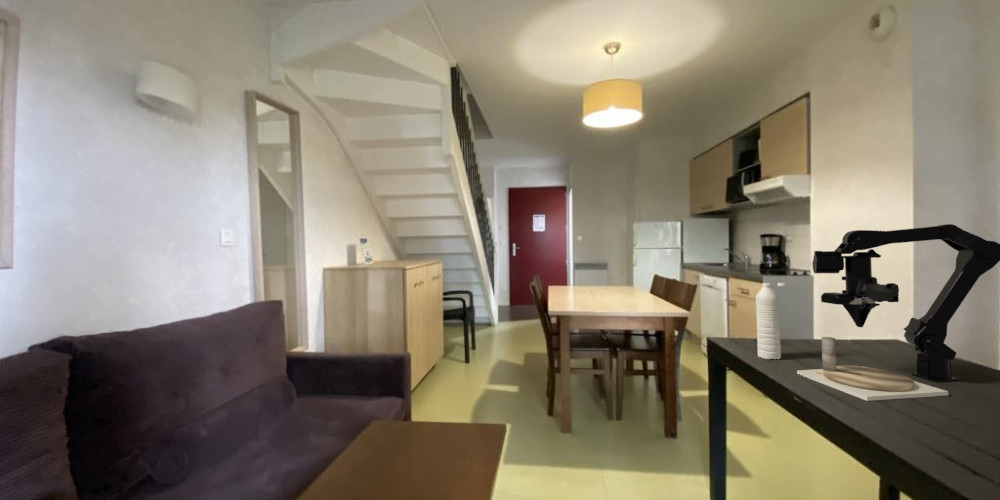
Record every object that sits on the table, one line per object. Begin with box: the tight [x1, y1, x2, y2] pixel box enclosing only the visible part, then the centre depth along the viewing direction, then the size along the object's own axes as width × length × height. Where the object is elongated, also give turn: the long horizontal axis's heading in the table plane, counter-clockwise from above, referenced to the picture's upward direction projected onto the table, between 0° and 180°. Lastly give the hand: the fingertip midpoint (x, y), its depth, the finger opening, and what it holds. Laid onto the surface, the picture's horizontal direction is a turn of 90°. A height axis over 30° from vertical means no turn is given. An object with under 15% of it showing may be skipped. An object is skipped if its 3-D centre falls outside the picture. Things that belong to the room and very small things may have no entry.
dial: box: [821, 336, 915, 391], centre depth 108 cm, size 18×18×10 cm
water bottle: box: [755, 282, 788, 360], centre depth 134 cm, size 9×6×25 cm
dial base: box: [796, 366, 949, 402], centre depth 108 cm, size 21×21×1 cm
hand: (860, 327), depth 117 cm, fingers closed
